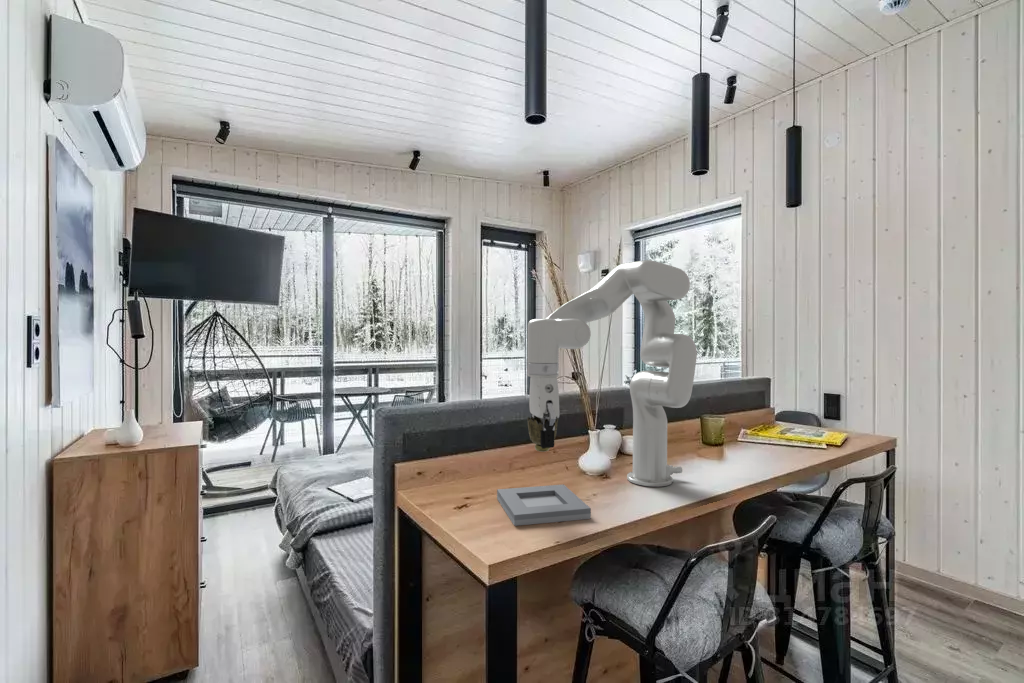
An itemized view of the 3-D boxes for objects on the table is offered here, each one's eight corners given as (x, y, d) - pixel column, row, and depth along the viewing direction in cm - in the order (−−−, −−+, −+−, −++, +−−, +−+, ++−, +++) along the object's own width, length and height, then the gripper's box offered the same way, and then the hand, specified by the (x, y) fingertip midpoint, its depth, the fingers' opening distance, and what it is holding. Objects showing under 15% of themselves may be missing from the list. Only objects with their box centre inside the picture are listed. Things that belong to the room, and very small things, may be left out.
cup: (560, 448, 121) (560, 415, 120) (554, 455, 113) (555, 421, 113) (530, 446, 123) (531, 414, 122) (523, 453, 115) (524, 419, 115)
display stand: (563, 493, 129) (563, 484, 129) (590, 518, 112) (590, 508, 112) (497, 498, 125) (497, 489, 125) (514, 525, 107) (514, 515, 107)
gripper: (570, 372, 110) (569, 451, 110) (546, 367, 127) (546, 435, 127) (538, 373, 108) (538, 453, 109) (518, 367, 125) (518, 437, 125)
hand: (542, 443), depth 118 cm, fingers closed on cup, 7 cm apart
